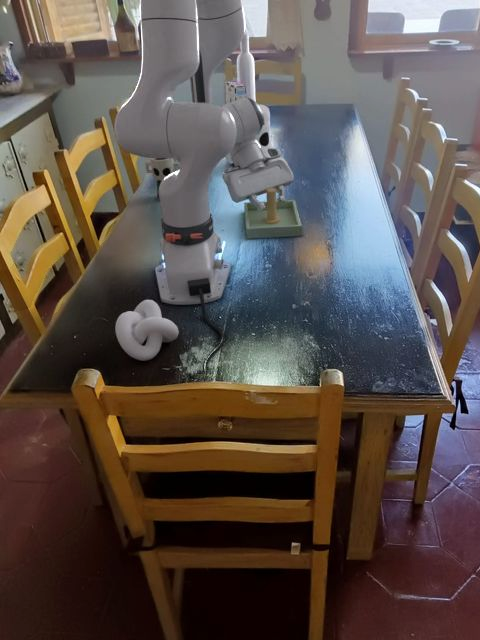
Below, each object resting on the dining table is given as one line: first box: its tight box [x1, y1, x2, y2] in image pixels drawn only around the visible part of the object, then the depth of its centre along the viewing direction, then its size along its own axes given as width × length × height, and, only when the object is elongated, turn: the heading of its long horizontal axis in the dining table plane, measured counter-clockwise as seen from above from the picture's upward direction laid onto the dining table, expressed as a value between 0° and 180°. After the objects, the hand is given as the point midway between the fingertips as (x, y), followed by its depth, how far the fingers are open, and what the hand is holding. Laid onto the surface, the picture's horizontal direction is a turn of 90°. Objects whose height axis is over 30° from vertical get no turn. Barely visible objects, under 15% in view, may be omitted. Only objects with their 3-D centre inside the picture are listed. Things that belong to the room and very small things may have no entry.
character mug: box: [144, 158, 180, 199], centre depth 162 cm, size 11×7×13 cm, turn 87°
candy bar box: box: [224, 80, 246, 104], centre depth 217 cm, size 11×5×16 cm, turn 25°
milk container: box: [224, 103, 274, 167], centre depth 182 cm, size 17×17×18 cm
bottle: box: [236, 32, 257, 103], centre depth 233 cm, size 8×8×30 cm
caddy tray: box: [243, 188, 303, 240], centre depth 146 cm, size 17×15×10 cm
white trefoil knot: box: [114, 299, 180, 362], centre depth 104 cm, size 11×12×9 cm
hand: (273, 206), depth 146 cm, fingers open, 6 cm apart
